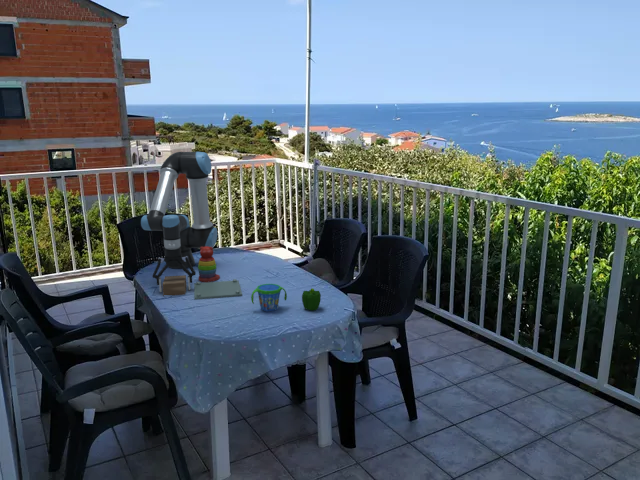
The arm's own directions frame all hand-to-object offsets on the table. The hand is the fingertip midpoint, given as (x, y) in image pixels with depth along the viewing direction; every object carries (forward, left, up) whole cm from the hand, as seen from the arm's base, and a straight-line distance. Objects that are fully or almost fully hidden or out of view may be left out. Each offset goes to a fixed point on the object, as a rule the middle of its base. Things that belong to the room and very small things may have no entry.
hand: (175, 290), depth 253 cm
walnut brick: (0, 0, -1) cm, 1 cm away
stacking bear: (-15, +16, -1) cm, 22 cm away
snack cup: (+35, +41, -1) cm, 54 cm away
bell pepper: (+39, +59, -1) cm, 71 cm away
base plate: (+4, +20, 0) cm, 20 cm away
